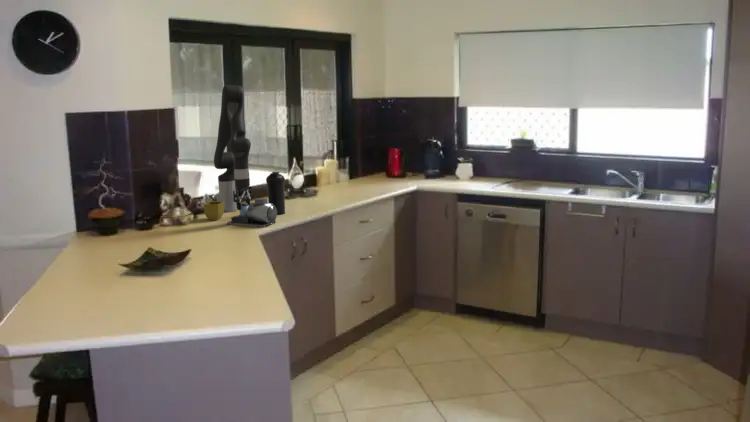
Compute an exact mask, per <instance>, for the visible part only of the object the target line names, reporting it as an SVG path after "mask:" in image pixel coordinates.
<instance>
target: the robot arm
mask: <svg viewBox="0 0 750 422" xmlns="http://www.w3.org/2000/svg"><path fill="white" fill-rule="evenodd" d="M222 87H223V88H222V92H221V106H220V107H221V109H220V117H219V121H218V132H217V141H216V142H217V143H216V147H215V150H214V151H215V152H214V155H213V156H214V157H213V165H214V168H215V169H216V170H225V169H226V170H225V171H224V172H223V173H221V174H219V175H218V177H217V183H218V194H217V201H218V202H224V212H223V213H226V212H228V213H229V212H236V211H237V210H238V211H240V210H241V203H242V199H244V198H245V203H247V205H250V204H251V199H252V198H253V197H254V196H253V195H254V193H253V187H252V186H250V182H251V181H250V169H249V156H250V152H251V148H252V147H251V146H252V143H251V140H250V139H249V138H248V137H247V138H245V137H244V136H245V135H246V127H245V126H246V125H245V90H244V87H243V86H242V85H232V84H226V85H224V86H222ZM229 104H237V108H236V110H235V111H234V114H232V113H231V111H230V109H229ZM242 137H244V138H242ZM228 145H229V150H230V151H226V152H225V149H226V148H227V147H228ZM234 153H235V154H236V153H238V154H239V153H243V154H242V155H240V156H237V157H235V155H234Z"/></svg>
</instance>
